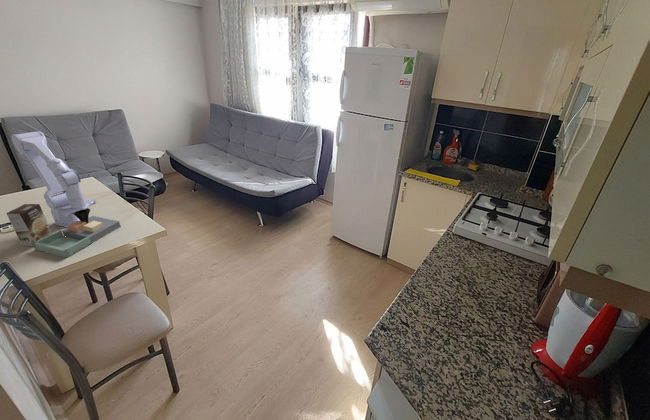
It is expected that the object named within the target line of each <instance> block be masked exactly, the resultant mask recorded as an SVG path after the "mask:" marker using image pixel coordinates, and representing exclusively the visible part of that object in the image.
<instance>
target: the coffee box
mask: <svg viewBox="0 0 650 420" xmlns="http://www.w3.org/2000/svg"><path fill="white" fill-rule="evenodd" d="M6 215H7V217H8V220H9V222H10V224H11V225H12V228H13V231H14V232H15V234H16V236H17V238H18V240H19V242H20V244H21V246H23V247H30V246H31V247H34V245H33V242H36V241H38V240H40V239H42V238H44V237H46V236H48V235H50V234H52V233H53V232H52V230H51V228H50V225H49V223H48V220H47V219H46V217H45V216H46V215H44V212H43V210H42V207H41V205H40V204H39V203H24V204H22V205H20V206H18V207H17V208H16V207H15V208H14V209H12V210H10V211H8V212H6Z"/></svg>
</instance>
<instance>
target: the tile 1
mask: <svg viewBox="0 0 650 420" xmlns="http://www.w3.org/2000/svg"><path fill="white" fill-rule="evenodd" d="M86 224H87V223H86V222H82V221H76V222H74V223H72V224H70V225H67V227H66V228H68V229H69V230H70V231H74V232H79V231H81V230H83V229H84V227H83V226H84V225H86Z"/></svg>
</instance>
